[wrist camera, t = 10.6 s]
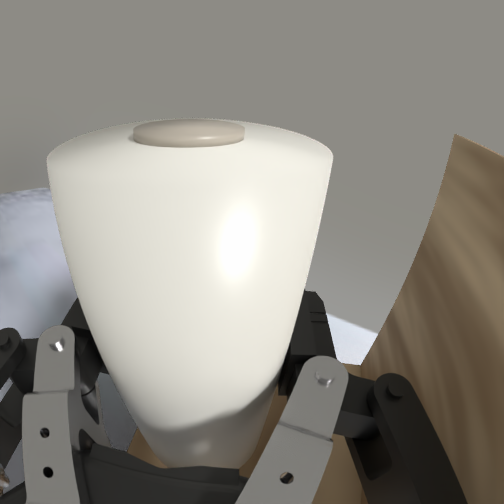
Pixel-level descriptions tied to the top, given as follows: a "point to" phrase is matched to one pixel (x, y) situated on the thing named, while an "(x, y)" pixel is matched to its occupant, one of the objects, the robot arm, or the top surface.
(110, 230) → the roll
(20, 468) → the top surface
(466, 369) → the holder
